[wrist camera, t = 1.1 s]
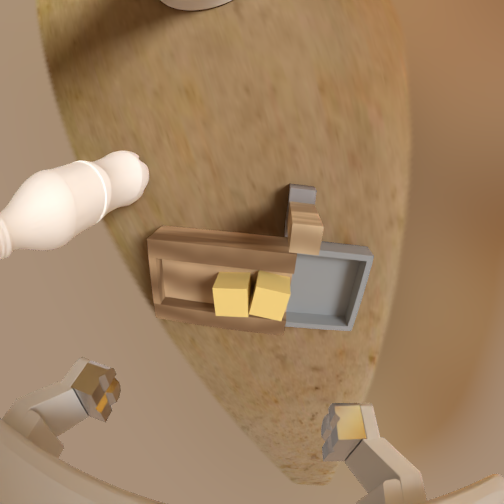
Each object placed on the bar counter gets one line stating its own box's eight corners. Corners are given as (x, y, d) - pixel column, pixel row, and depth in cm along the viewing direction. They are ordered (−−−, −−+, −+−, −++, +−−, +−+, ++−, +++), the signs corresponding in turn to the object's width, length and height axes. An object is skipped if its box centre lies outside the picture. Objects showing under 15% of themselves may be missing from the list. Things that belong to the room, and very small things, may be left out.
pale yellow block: (219, 271, 36) (212, 288, 32) (250, 272, 35) (246, 289, 32) (221, 298, 37) (215, 315, 34) (251, 299, 37) (248, 317, 33)
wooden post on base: (289, 183, 33) (293, 205, 24) (314, 186, 33) (327, 209, 24) (284, 229, 36) (285, 267, 26) (307, 232, 36) (316, 270, 26)
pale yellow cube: (258, 270, 35) (256, 286, 32) (289, 277, 35) (290, 294, 32) (252, 296, 37) (248, 314, 33) (281, 302, 37) (281, 321, 33)
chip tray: (295, 238, 36) (296, 247, 33) (367, 246, 36) (373, 256, 33) (283, 313, 41) (283, 326, 38) (347, 318, 41) (351, 330, 38)
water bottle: (141, 209, 36) (7, 311, 14) (104, 184, 35) (-39, 258, 13) (163, 164, 34) (6, 233, 11) (122, 140, 33) (-40, 180, 10)
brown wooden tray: (162, 225, 37) (146, 238, 33) (295, 238, 36) (297, 254, 32) (167, 298, 42) (155, 317, 38) (283, 313, 41) (283, 335, 37)
